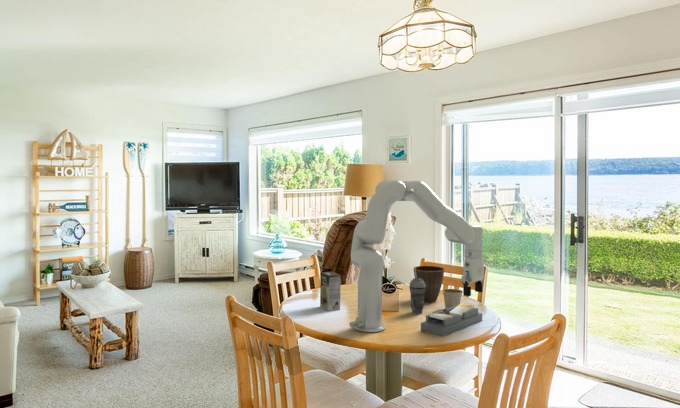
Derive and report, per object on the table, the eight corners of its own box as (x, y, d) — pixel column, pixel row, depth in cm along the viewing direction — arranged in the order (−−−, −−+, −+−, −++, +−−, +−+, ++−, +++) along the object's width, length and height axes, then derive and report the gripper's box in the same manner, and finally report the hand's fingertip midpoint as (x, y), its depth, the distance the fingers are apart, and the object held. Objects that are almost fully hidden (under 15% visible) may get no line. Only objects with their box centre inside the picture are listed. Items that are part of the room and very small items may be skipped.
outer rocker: (462, 317, 184) (462, 314, 184) (449, 314, 188) (449, 311, 188) (474, 308, 191) (474, 305, 190) (461, 305, 195) (461, 303, 195)
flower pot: (439, 306, 213) (440, 288, 213) (460, 307, 213) (460, 288, 213) (443, 312, 204) (444, 293, 204) (465, 312, 204) (465, 293, 203)
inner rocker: (443, 319, 174) (443, 316, 174) (429, 316, 178) (430, 313, 178) (456, 320, 181) (456, 316, 181) (443, 316, 185) (443, 313, 185)
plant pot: (430, 306, 214) (430, 272, 214) (406, 299, 226) (407, 267, 225) (450, 301, 224) (450, 268, 223) (426, 295, 235) (427, 264, 235)
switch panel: (443, 336, 170) (443, 322, 170) (420, 330, 177) (421, 316, 177) (482, 320, 192) (482, 307, 191) (461, 315, 199) (461, 303, 198)
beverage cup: (425, 315, 199) (425, 269, 198) (408, 314, 200) (409, 269, 199) (425, 310, 206) (426, 266, 205) (409, 309, 207) (409, 266, 206)
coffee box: (319, 306, 212) (319, 272, 211) (331, 305, 215) (332, 271, 214) (328, 311, 204) (328, 275, 203) (340, 309, 207) (341, 274, 206)
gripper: (470, 257, 186) (470, 298, 186) (491, 252, 198) (490, 291, 199) (454, 255, 191) (454, 295, 192) (475, 251, 203) (475, 289, 204)
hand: (472, 293), depth 195 cm, fingers open, 9 cm apart
